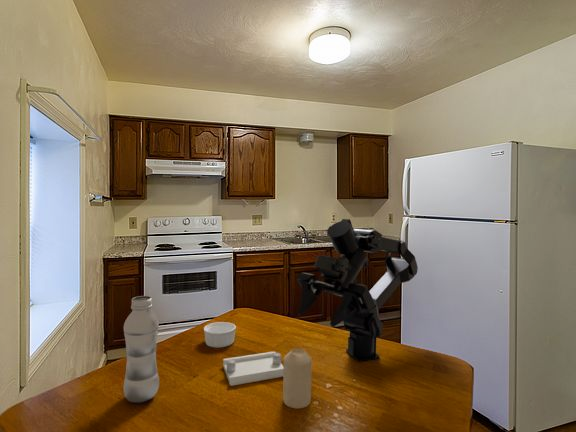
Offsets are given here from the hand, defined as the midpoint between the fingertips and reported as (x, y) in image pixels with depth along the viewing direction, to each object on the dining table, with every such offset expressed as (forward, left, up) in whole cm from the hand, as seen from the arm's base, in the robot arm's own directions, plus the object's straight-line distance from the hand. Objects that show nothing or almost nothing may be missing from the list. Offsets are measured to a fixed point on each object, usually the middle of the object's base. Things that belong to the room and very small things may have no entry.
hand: (314, 319), depth 71 cm
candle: (+6, +5, -14) cm, 16 cm away
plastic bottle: (+35, -6, -14) cm, 38 cm away
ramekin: (+16, -28, -15) cm, 36 cm away
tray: (+11, -9, -14) cm, 20 cm away
